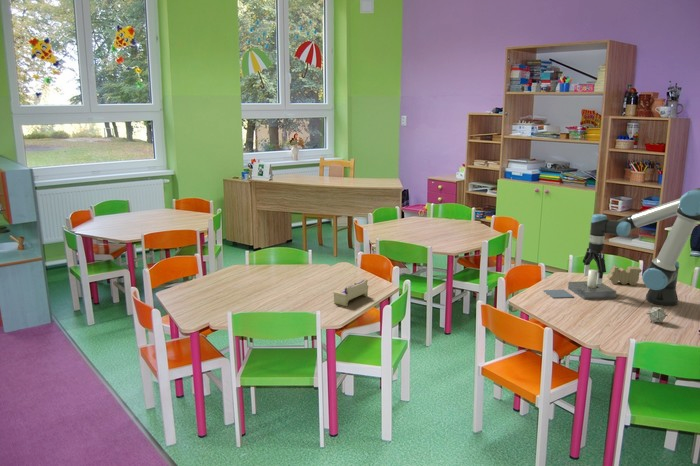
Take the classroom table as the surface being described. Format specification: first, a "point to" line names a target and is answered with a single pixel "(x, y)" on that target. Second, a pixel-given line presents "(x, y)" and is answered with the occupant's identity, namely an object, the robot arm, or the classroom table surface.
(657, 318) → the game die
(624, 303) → the classroom table surface
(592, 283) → the end plug
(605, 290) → the housing
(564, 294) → the mat
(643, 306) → the classroom table surface
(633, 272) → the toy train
